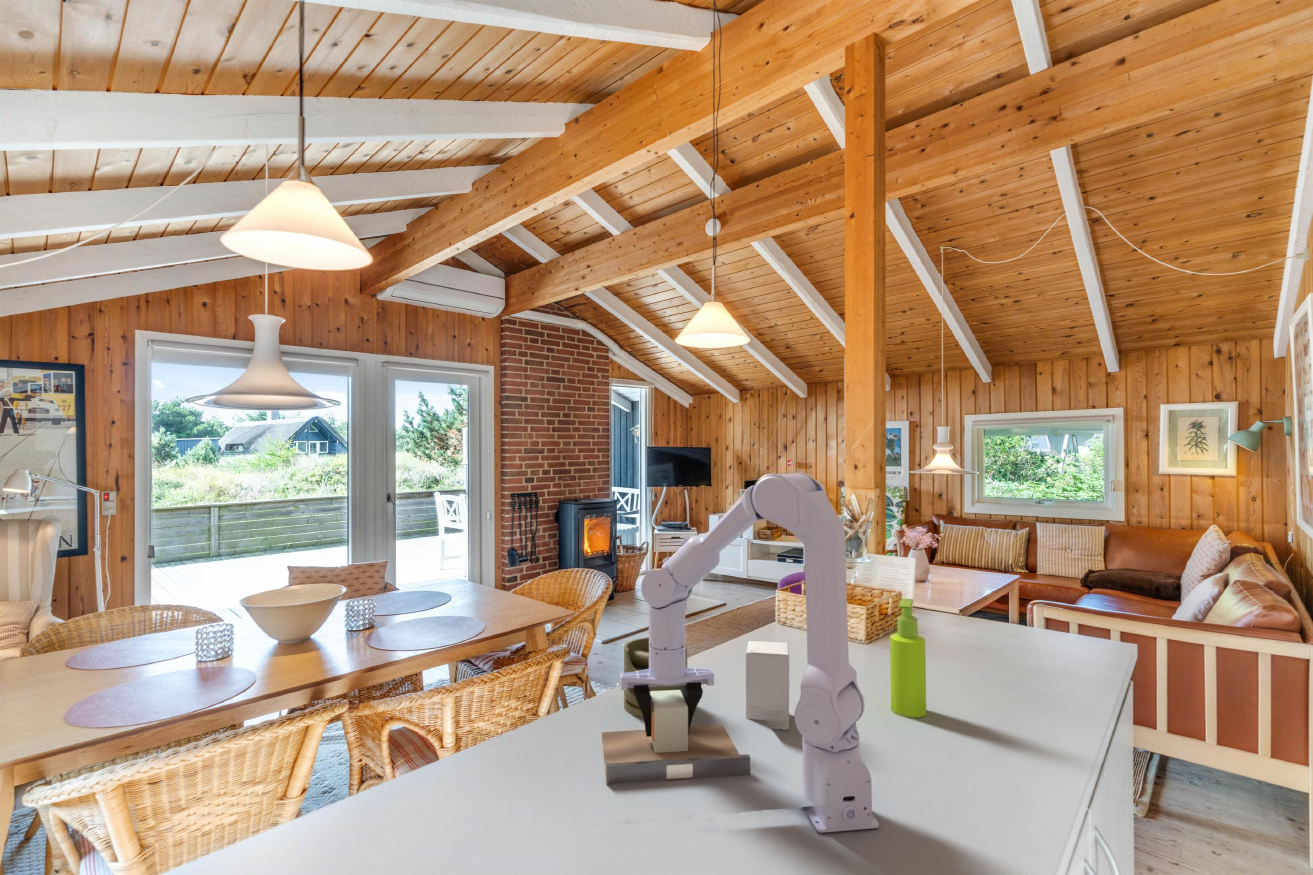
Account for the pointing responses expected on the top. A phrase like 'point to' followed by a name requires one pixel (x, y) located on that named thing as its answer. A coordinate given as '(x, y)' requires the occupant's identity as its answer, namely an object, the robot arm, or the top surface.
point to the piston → (636, 661)
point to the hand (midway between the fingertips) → (667, 732)
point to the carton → (669, 721)
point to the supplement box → (768, 683)
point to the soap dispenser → (908, 665)
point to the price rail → (677, 769)
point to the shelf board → (641, 749)
